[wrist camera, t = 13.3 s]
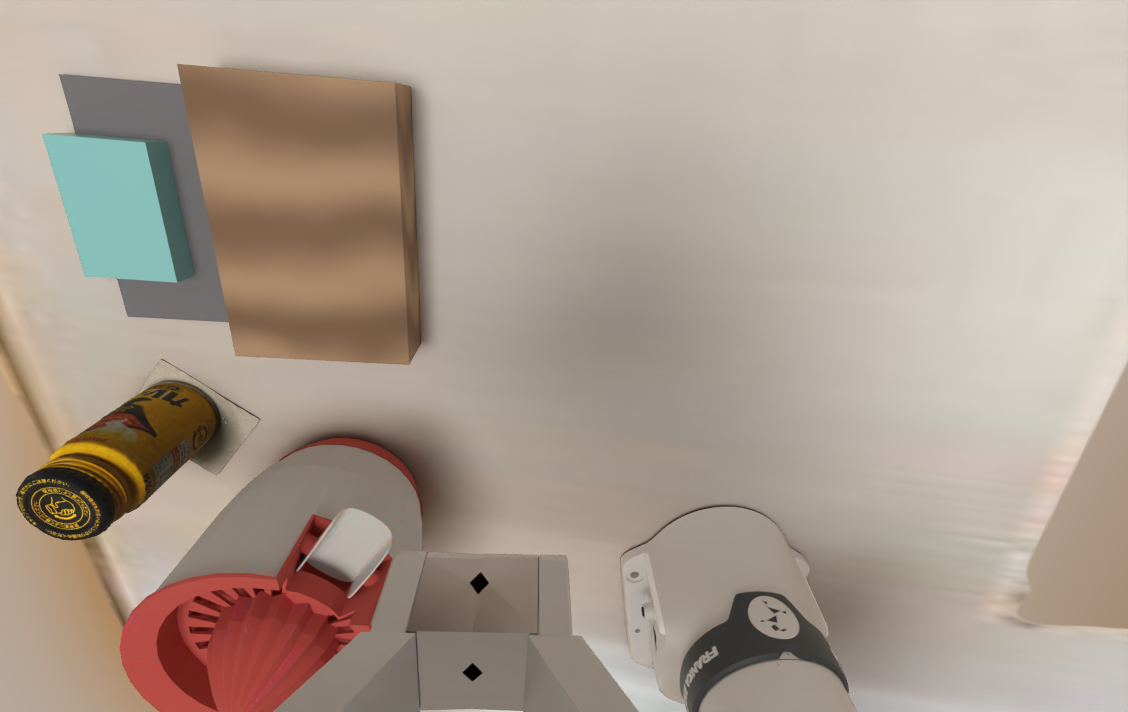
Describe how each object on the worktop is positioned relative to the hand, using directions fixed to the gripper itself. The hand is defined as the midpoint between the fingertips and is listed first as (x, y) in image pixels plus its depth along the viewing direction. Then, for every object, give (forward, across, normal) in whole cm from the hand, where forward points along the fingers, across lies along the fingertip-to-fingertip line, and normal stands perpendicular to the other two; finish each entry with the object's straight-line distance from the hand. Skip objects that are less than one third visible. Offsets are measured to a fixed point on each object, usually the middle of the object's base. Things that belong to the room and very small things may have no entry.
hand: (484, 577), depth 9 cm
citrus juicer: (+31, -14, -23) cm, 41 cm away
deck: (+31, -14, 0) cm, 34 cm away
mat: (+31, -25, 0) cm, 40 cm away
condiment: (+31, -27, -17) cm, 45 cm away
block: (+29, -27, 0) cm, 39 cm away
